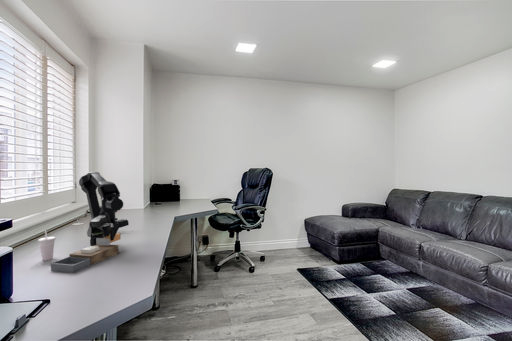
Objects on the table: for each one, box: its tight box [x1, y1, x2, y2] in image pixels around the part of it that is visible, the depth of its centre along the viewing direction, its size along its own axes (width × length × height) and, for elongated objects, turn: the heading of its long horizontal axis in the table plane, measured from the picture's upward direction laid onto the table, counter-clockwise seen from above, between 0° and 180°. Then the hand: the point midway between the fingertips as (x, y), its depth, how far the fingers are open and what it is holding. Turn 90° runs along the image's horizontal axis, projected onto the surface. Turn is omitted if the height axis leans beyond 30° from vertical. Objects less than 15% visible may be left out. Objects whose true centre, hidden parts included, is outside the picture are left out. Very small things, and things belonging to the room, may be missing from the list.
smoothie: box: [37, 229, 56, 261], centre depth 120 cm, size 6×6×14 cm
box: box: [50, 256, 92, 274], centre depth 108 cm, size 8×12×3 cm, turn 74°
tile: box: [80, 246, 99, 254], centre depth 117 cm, size 5×5×2 cm
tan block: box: [68, 244, 120, 266], centre depth 119 cm, size 15×12×4 cm
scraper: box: [96, 232, 121, 246], centre depth 128 cm, size 10×7×3 cm
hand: (109, 240), depth 128 cm, fingers closed on scraper, 2 cm apart
